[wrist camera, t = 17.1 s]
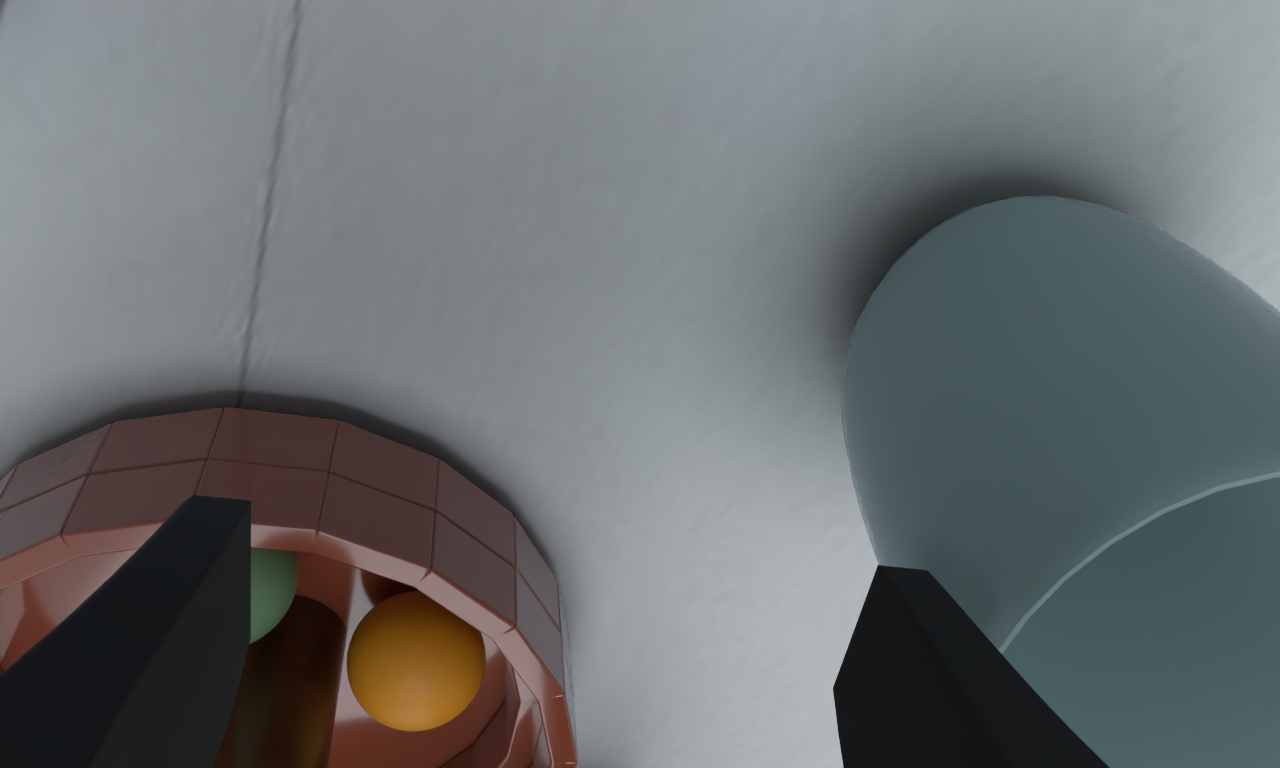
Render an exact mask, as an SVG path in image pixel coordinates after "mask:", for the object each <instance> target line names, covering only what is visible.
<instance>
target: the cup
mask: <svg viewBox="0 0 1280 768" xmlns="http://www.w3.org/2000/svg"><path fill="white" fill-rule="evenodd" d="M841 413H842V424H843V431H844V437H845V443H846V449H847V455H848V461H849V466H850V472H851V477H852V481H853V484H854V488H855V492H856V496H857V500H858V504H859V507H860V510H861V513H862V517H863V520H864V523H865V526H866V529H867V533H868V536H869V539H870V541H871V544H872V547H873V550H874V553H875V556H876V558H877V561H878V564H879V565H883V566H892V567H902V568H912V569H922V570H928V571H929V572H930V573H931V575H932V576H933V577H934V578H935V579H936V580H937V581H938V582H939V583H940V584H941V585H942V586H943V588H944V589H945V590H946V591H947V592H948V593H949V594H950V595H951V597H952V598H953V599H954V600H955V601H956V602H957V603H958V605H959V606H960V607H961V608H962V609H963V610H964V611H965V613H966V614H967V615H968V616H969V617H970V618H971V619H972V621H973V622H974V623H975V624H976V625H977V626H978V628H979V629H980V630H981V631H982V632H983V633H984V634H985V636H986V637H987V638H988V639H989V640H990V641H991V642H992V644H993V645H994V646H995V647H996V648H997V649H998V650H999V652H1000V653H1001V654H1002V655H1003V656H1004V657H1005V658H1006V659H1007V661H1008V662H1009V663H1010V664H1011V665H1012V666H1013V667H1014V668H1015V670H1016V671H1017V672H1018V673H1019V674H1020V675H1021V676H1022V677H1023V678H1024V680H1025V681H1026V682H1027V683H1028V684H1029V685H1030V686H1031V687H1032V688H1033V689H1034V691H1035V692H1036V693H1037V694H1038V695H1039V696H1040V697H1041V698H1042V699H1043V700H1044V701H1045V702H1046V703H1047V705H1048V706H1049V707H1050V708H1051V709H1052V710H1053V711H1054V712H1055V713H1056V714H1057V715H1058V716H1059V717H1060V718H1061V719H1062V720H1063V721H1064V722H1065V723H1066V724H1067V725H1068V727H1069V728H1070V729H1071V730H1072V731H1073V732H1074V733H1075V734H1076V735H1077V736H1078V737H1079V738H1080V739H1081V740H1082V741H1083V742H1084V743H1085V744H1086V745H1087V746H1088V747H1089V748H1091V749H1092V750H1093V751H1094V752H1095V753H1096V754H1097V755H1098V756H1099V757H1100V758H1101V759H1102V760H1103V761H1104V762H1105V763H1106V764H1107V765H1108V766H1109V767H1110V768H1280V312H1279V311H1278V310H1277V309H1276V308H1274V307H1273V306H1272V305H1271V304H1270V303H1268V302H1267V301H1266V300H1265V299H1263V298H1262V297H1261V296H1260V295H1258V294H1257V293H1256V292H1255V291H1253V290H1252V289H1251V288H1249V287H1248V286H1247V285H1246V284H1244V283H1243V282H1242V281H1241V280H1239V279H1238V278H1237V277H1235V276H1234V275H1232V274H1231V273H1230V272H1228V271H1227V270H1225V269H1224V268H1223V267H1221V266H1220V265H1218V264H1217V263H1215V262H1214V261H1213V260H1211V259H1210V258H1208V257H1206V256H1205V255H1203V254H1202V253H1200V252H1198V251H1197V250H1195V249H1193V248H1192V247H1190V246H1188V245H1187V244H1185V243H1183V242H1182V241H1180V240H1178V239H1176V238H1175V237H1173V236H1171V235H1170V234H1168V233H1166V232H1164V231H1163V230H1161V229H1159V228H1158V227H1156V226H1154V225H1152V224H1150V223H1148V222H1145V221H1143V220H1141V219H1139V218H1137V217H1134V216H1132V215H1129V214H1127V213H1124V212H1121V211H1118V210H1115V209H1112V208H1109V207H1106V206H1103V205H1100V204H1096V203H1092V202H1088V201H1083V200H1078V199H1070V198H1063V197H1056V196H1028V197H1012V198H1006V199H1001V200H997V201H993V202H989V203H985V204H981V205H977V206H974V207H971V208H969V209H967V210H965V211H963V212H961V213H959V214H957V215H955V216H953V217H950V218H948V219H946V220H944V221H943V222H941V223H940V224H939V225H937V226H936V227H934V228H933V229H932V230H930V231H929V232H927V233H926V234H925V235H923V236H922V237H921V238H919V239H918V240H917V241H916V242H915V243H914V244H913V245H912V246H911V247H910V248H909V249H908V250H907V251H906V252H904V253H903V254H902V255H901V256H900V257H899V258H898V259H897V260H896V261H895V262H894V264H893V265H892V266H891V268H890V269H889V270H888V272H887V273H886V274H885V276H884V277H883V278H882V280H881V281H880V282H879V284H878V285H877V286H876V288H875V289H874V291H873V293H872V295H871V297H870V299H869V300H868V302H867V304H866V306H865V308H864V310H863V312H862V314H861V315H860V317H859V319H858V321H857V323H856V325H855V328H854V331H853V334H852V337H851V340H850V343H849V346H848V349H847V352H846V359H845V366H844V374H843V383H842V392H841Z"/></svg>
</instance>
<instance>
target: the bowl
mask: <svg viewBox="0 0 1280 768" xmlns="http://www.w3.org/2000/svg"><path fill="white" fill-rule="evenodd" d="M193 495H201V496H211V497H220V498H230V499H240V500H250V501H251V547H252V548H262V549H273V550H284V551H294V552H296V556H297V562H298V583H297V588H296V592H295V595H294V596H299V597H304V598H308V599H311V600H314V601H317V602H319V603H321V604H323V605H324V606H326V607H327V608H329V609H330V610H331V611H333V612H334V613H335V614H336V615H337V616H338V617H339V619H340V620H341V622H342V624H343V626H344V628H345V632H346V646H345V653H344V660H343V667H342V674H341V681H340V688H339V695H338V702H337V708H336V715H335V722H334V729H333V736H332V743H331V750H330V757H329V764H328V768H576V767H577V763H578V750H577V736H576V722H575V707H574V698H573V697H574V692H573V678H572V664H571V650H570V642H569V636H568V631H567V625H566V620H565V614H564V609H563V603H562V598H561V592H560V587H559V583H558V581H557V579H556V577H555V576H554V574H553V573H552V571H551V570H550V568H549V567H548V565H547V564H546V562H545V561H544V559H543V558H542V556H541V555H540V553H539V552H538V551H537V549H536V548H535V546H534V545H533V543H532V542H531V540H530V539H529V537H528V536H527V534H526V533H525V531H524V530H523V528H522V527H521V525H520V524H519V522H518V521H517V519H516V518H515V517H514V516H513V513H512V512H510V511H509V510H508V509H506V508H505V507H504V506H502V505H501V504H500V503H498V502H497V501H496V500H494V499H493V498H492V497H490V496H489V495H488V494H486V493H485V492H484V491H482V490H481V489H480V488H478V487H477V486H476V485H474V484H473V483H472V482H470V481H469V480H468V479H466V478H465V477H464V476H462V475H461V474H460V473H458V472H457V471H456V470H454V469H453V468H452V467H450V466H449V465H448V464H446V463H445V462H444V461H442V460H441V459H438V458H437V457H435V456H432V455H430V454H427V453H424V452H422V451H419V450H416V449H414V448H411V447H409V446H406V445H403V444H401V443H398V442H395V441H393V440H390V439H388V438H385V437H382V436H380V435H377V434H375V433H372V432H369V431H367V430H364V429H361V428H359V427H356V426H354V425H351V424H348V423H346V422H343V421H339V422H338V421H337V420H335V419H327V418H318V417H309V416H301V415H292V414H284V413H275V412H267V411H258V410H250V409H241V408H233V407H226V408H225V409H224V408H222V407H220V408H212V409H205V410H197V411H190V412H182V413H175V414H167V415H160V416H152V417H145V418H137V419H130V420H122V421H116V422H114V423H113V424H108V425H105V426H103V427H101V428H99V429H96V430H94V431H92V432H90V433H87V434H85V435H83V436H81V437H78V438H76V439H74V440H72V441H69V442H67V443H65V444H63V445H60V446H58V447H56V448H53V449H51V450H49V451H47V452H44V453H42V454H40V455H38V456H35V457H33V458H31V459H29V460H26V461H24V462H22V463H21V464H18V465H16V466H15V467H14V468H13V469H12V470H11V471H10V472H9V473H8V474H7V475H6V476H5V477H4V478H3V479H2V480H1V481H0V674H1V673H2V672H3V671H4V670H5V669H7V668H8V667H9V666H10V665H11V664H13V663H14V662H15V661H16V660H17V659H19V658H20V657H21V656H22V655H23V654H25V653H26V652H27V651H28V650H29V649H30V648H32V647H33V646H34V645H35V644H36V643H38V642H39V641H40V640H41V639H42V638H44V637H45V636H46V635H47V634H48V633H50V632H51V631H52V630H53V629H54V628H55V627H57V626H58V625H59V624H60V623H61V622H62V621H63V620H64V619H66V618H67V617H68V616H69V615H70V614H71V613H72V612H73V611H74V610H75V609H76V608H77V607H79V606H80V605H81V604H82V603H83V602H84V601H85V600H86V599H87V598H88V597H89V596H90V595H91V594H92V593H94V592H95V591H96V590H97V589H98V588H99V587H100V586H101V585H102V584H103V583H104V582H105V581H106V580H107V579H109V578H110V577H111V576H112V575H113V574H114V573H115V572H116V571H117V570H118V569H119V568H120V567H121V566H122V565H123V564H124V563H125V562H126V561H127V560H128V559H129V558H130V557H131V556H132V555H133V554H134V553H135V552H136V551H137V550H138V549H139V548H140V547H141V546H142V545H143V544H144V543H145V542H146V541H147V540H148V539H149V538H150V537H151V536H152V535H153V534H154V533H155V532H156V530H157V529H158V528H159V527H160V526H161V525H162V524H163V523H164V522H165V521H166V520H167V519H168V518H169V517H170V516H171V515H172V514H173V512H174V511H175V510H176V509H177V508H178V507H179V506H180V505H181V504H182V503H183V502H184V501H185V500H187V499H188V498H190V497H191V496H193ZM409 591H420V592H422V593H423V594H425V595H426V596H428V597H429V598H431V599H432V600H434V601H435V602H437V603H438V604H440V605H441V606H443V607H444V608H446V609H447V610H449V611H450V612H452V613H453V614H455V615H456V616H458V617H459V618H461V619H462V620H464V621H465V622H467V623H468V624H470V625H471V626H473V627H474V628H476V629H477V630H479V631H480V632H481V634H482V637H483V641H484V645H485V653H486V662H485V671H484V675H483V679H482V682H481V684H480V687H479V689H478V691H477V693H476V695H475V697H474V698H473V699H472V701H471V702H470V703H469V705H468V706H467V707H466V708H465V709H464V710H463V711H462V712H461V713H460V714H459V715H458V716H456V717H455V718H453V719H452V720H451V721H449V722H447V723H445V724H443V725H441V726H438V727H435V728H432V729H429V730H423V731H403V730H398V729H394V728H391V727H388V726H386V725H383V724H382V723H380V722H378V721H377V720H375V719H374V718H372V717H371V716H370V715H369V714H368V713H367V712H366V711H365V710H364V709H363V708H362V707H361V706H360V704H359V703H358V701H357V700H356V698H355V696H354V694H353V692H352V690H351V687H350V684H349V680H348V676H347V652H348V648H349V644H350V641H351V638H352V635H353V633H354V631H355V629H356V627H357V626H358V624H359V623H360V621H361V620H362V619H363V617H364V616H365V615H366V614H367V613H368V612H369V611H370V610H371V609H372V608H373V607H375V606H376V605H377V604H379V603H380V602H382V601H384V600H385V599H387V598H389V597H391V596H394V595H397V594H399V593H404V592H409Z"/></svg>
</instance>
